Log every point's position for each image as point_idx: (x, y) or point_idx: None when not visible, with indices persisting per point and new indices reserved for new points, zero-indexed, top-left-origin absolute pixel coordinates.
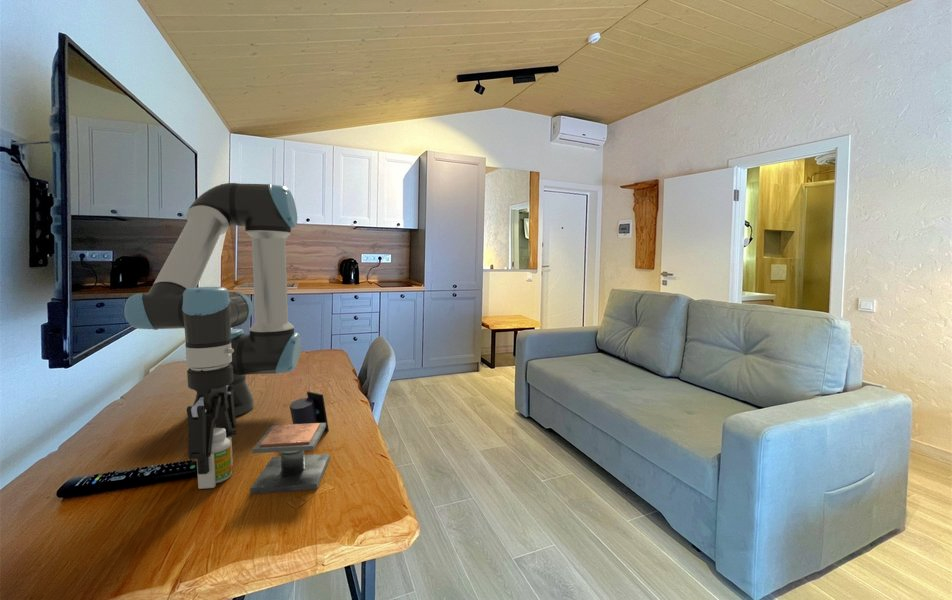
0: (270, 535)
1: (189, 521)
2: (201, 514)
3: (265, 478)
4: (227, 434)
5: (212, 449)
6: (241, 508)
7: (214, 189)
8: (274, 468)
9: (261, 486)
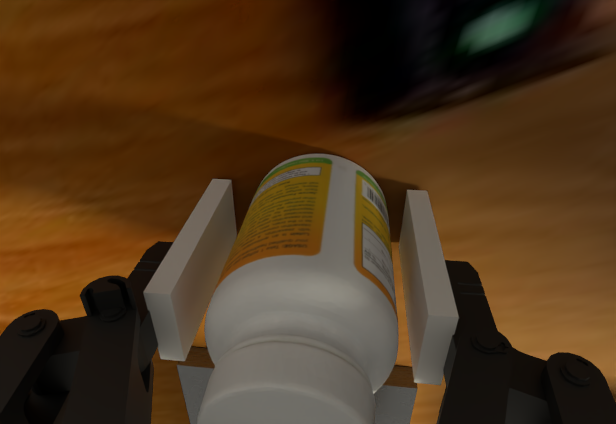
0: None
1: (15, 227)
2: (58, 248)
3: None
4: (446, 385)
5: (212, 359)
6: None
7: None
8: None
9: (186, 389)
